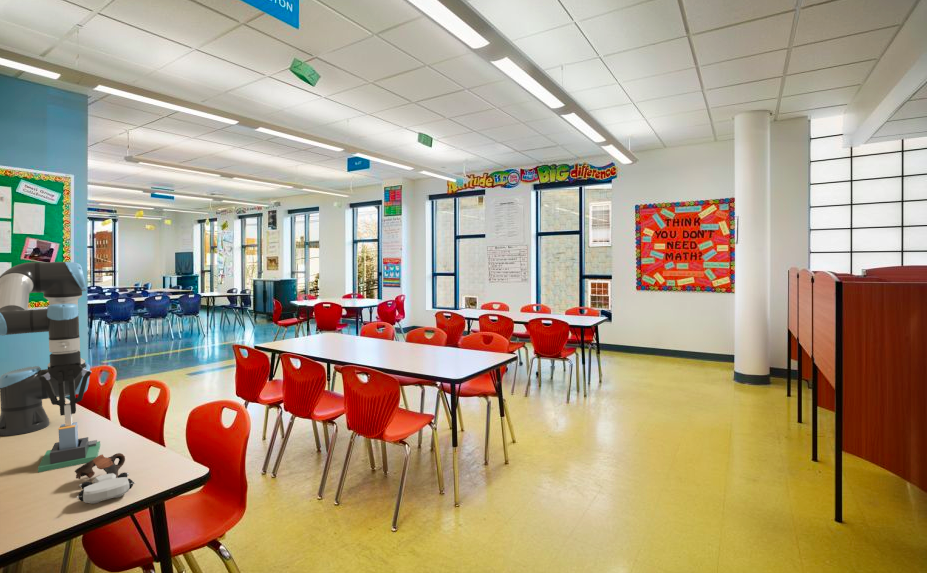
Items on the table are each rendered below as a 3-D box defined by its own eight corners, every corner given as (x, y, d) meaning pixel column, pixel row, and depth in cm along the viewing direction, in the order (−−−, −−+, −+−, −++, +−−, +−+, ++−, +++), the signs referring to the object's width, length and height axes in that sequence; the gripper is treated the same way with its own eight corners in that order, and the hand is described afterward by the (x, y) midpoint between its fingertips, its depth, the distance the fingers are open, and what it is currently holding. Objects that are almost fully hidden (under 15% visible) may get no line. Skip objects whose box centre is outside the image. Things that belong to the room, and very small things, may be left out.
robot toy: (77, 495, 129) (77, 513, 118) (76, 479, 129) (76, 495, 118) (131, 481, 137) (136, 497, 126) (130, 466, 137) (135, 480, 126)
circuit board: (47, 454, 155) (46, 440, 155) (100, 445, 163) (99, 431, 163) (38, 472, 142) (37, 456, 142) (96, 460, 150) (95, 445, 149)
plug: (62, 454, 152) (61, 423, 151) (78, 451, 154) (77, 421, 154) (60, 460, 147) (58, 429, 146) (76, 457, 149) (74, 426, 149)
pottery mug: (95, 492, 130) (78, 467, 129) (82, 499, 134) (65, 476, 134) (137, 464, 141) (121, 442, 140) (123, 472, 145) (108, 450, 144)
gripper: (35, 356, 142) (39, 432, 143) (89, 351, 150) (93, 423, 151) (40, 352, 148) (43, 425, 150) (92, 347, 156) (95, 417, 157)
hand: (68, 424), depth 150 cm, fingers closed
